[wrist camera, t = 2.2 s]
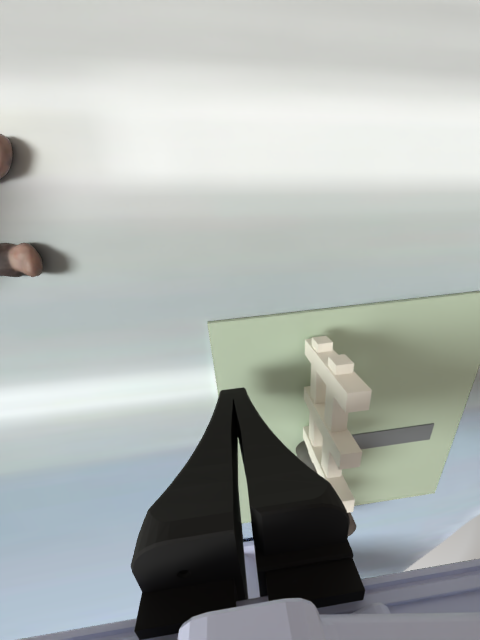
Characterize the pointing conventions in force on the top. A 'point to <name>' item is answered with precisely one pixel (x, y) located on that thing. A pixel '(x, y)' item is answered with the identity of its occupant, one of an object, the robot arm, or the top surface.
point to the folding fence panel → (333, 414)
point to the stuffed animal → (11, 256)
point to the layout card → (375, 370)
